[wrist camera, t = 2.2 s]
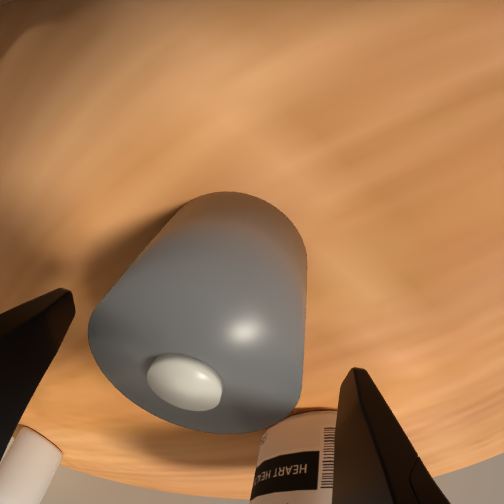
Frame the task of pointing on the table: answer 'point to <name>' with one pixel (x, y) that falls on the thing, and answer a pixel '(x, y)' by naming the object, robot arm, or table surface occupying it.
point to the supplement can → (296, 461)
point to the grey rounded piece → (210, 318)
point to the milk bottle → (28, 468)
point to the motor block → (5, 1)
